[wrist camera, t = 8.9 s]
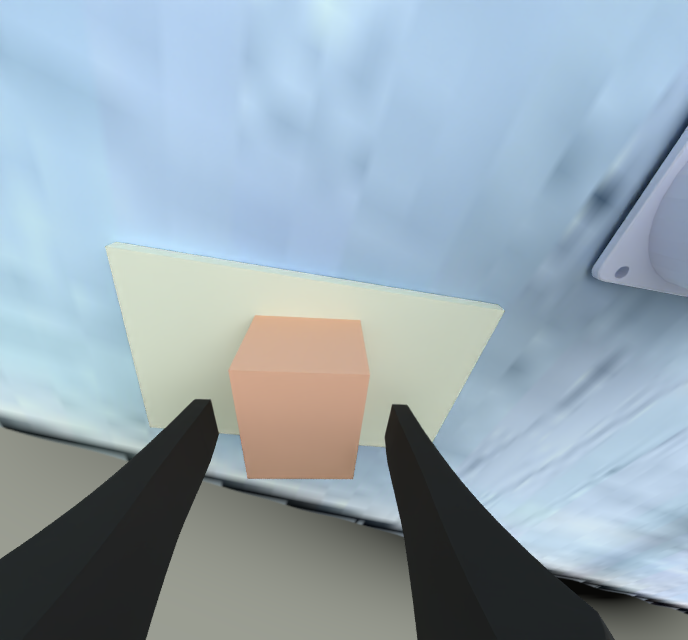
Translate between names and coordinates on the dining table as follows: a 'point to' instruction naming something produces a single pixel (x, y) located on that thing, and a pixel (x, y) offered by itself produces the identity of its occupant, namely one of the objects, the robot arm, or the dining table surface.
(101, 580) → the robot arm
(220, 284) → the mat
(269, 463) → the light orange block
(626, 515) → the dining table surface
